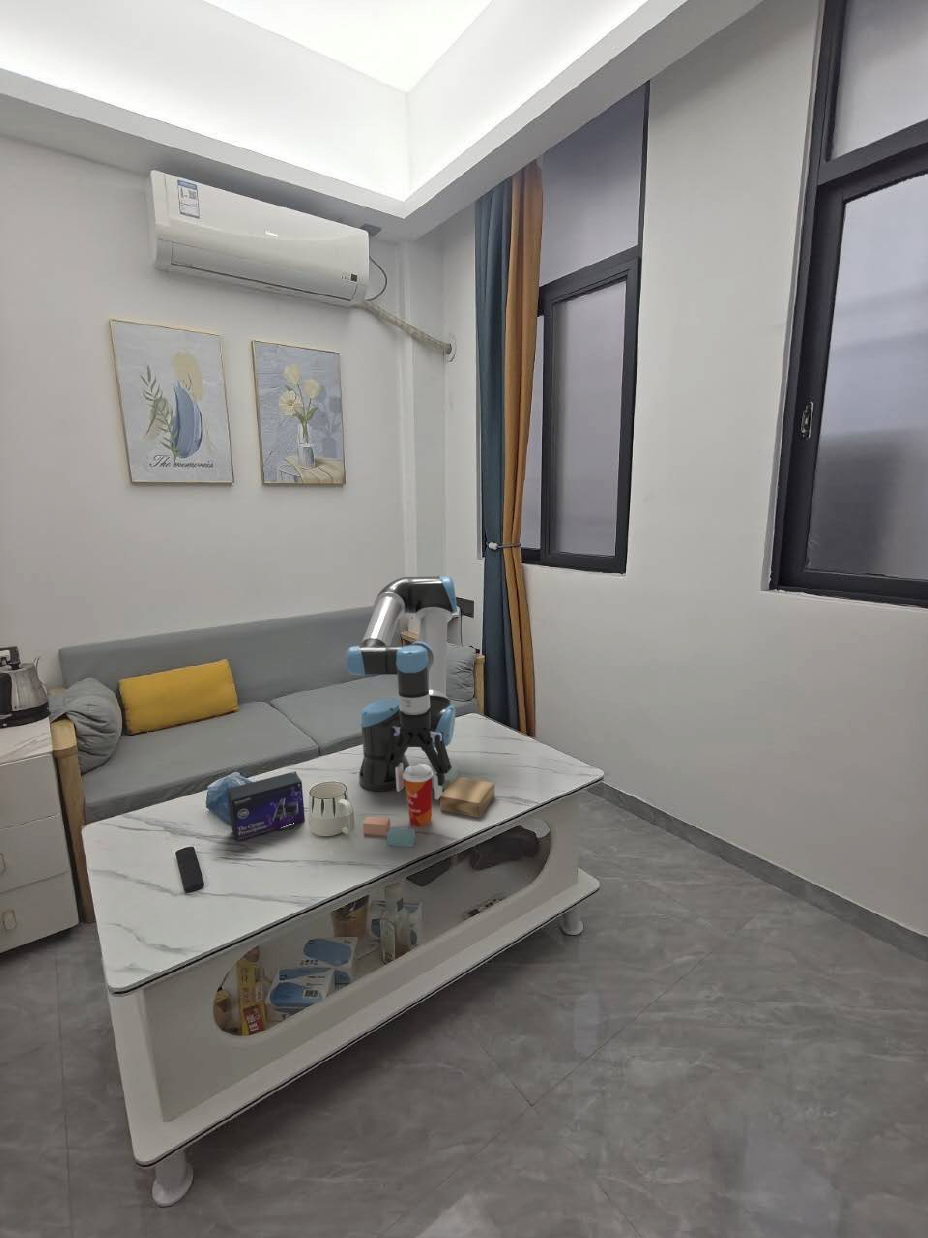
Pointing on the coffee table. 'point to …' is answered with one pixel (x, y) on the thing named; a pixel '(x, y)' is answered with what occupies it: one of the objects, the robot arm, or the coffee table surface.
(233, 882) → the coffee table surface
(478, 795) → the oak block
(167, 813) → the coffee table surface
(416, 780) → the paper cup
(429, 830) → the coffee table surface
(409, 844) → the brick
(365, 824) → the brick
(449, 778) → the sage pad
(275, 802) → the box
